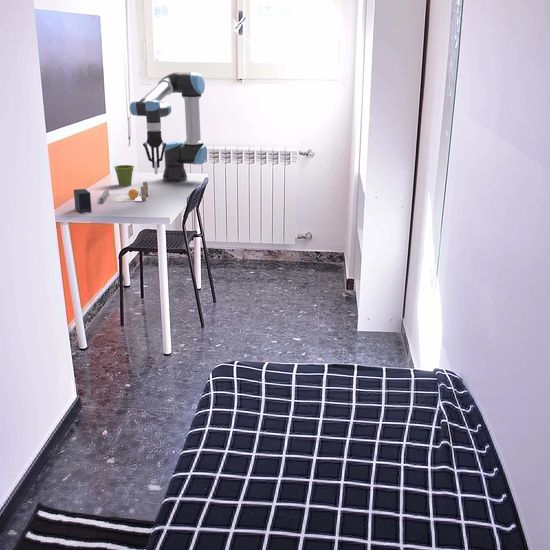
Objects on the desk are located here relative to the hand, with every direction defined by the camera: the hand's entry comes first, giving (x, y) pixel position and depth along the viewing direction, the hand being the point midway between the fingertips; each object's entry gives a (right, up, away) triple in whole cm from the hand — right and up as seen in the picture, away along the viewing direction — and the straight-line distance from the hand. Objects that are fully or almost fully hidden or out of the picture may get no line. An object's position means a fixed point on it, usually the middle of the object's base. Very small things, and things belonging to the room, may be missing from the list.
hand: (156, 173), depth 366 cm
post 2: (-7, -15, -2) cm, 17 cm away
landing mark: (-15, -13, +4) cm, 20 cm away
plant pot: (-25, -2, +36) cm, 44 cm away
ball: (-13, -11, +2) cm, 17 cm away
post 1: (-8, -11, +10) cm, 17 cm away
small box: (-34, -23, -22) cm, 46 cm away
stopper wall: (-29, -14, +2) cm, 32 cm away
